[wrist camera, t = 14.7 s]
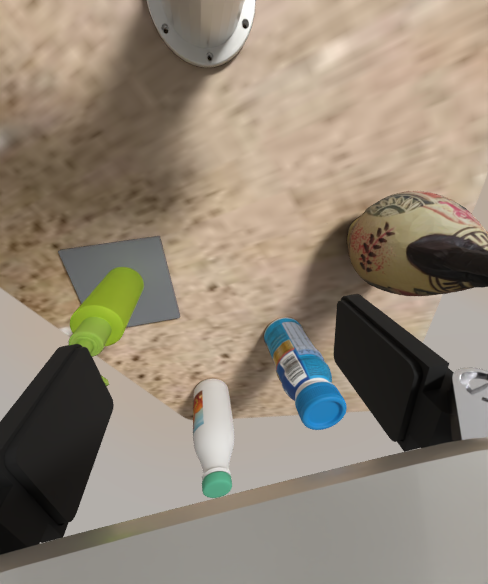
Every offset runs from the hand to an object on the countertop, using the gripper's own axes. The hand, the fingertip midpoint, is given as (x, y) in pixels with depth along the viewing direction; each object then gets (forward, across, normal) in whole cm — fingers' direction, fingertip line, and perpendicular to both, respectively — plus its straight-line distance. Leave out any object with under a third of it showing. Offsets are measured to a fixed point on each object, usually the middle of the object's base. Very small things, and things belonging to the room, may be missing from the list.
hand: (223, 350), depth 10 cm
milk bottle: (+34, +5, +38) cm, 52 cm away
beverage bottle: (+34, -12, +26) cm, 45 cm away
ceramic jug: (+34, -29, +7) cm, 46 cm away
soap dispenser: (+34, +14, +10) cm, 38 cm away
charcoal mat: (+34, +15, +10) cm, 39 cm away
